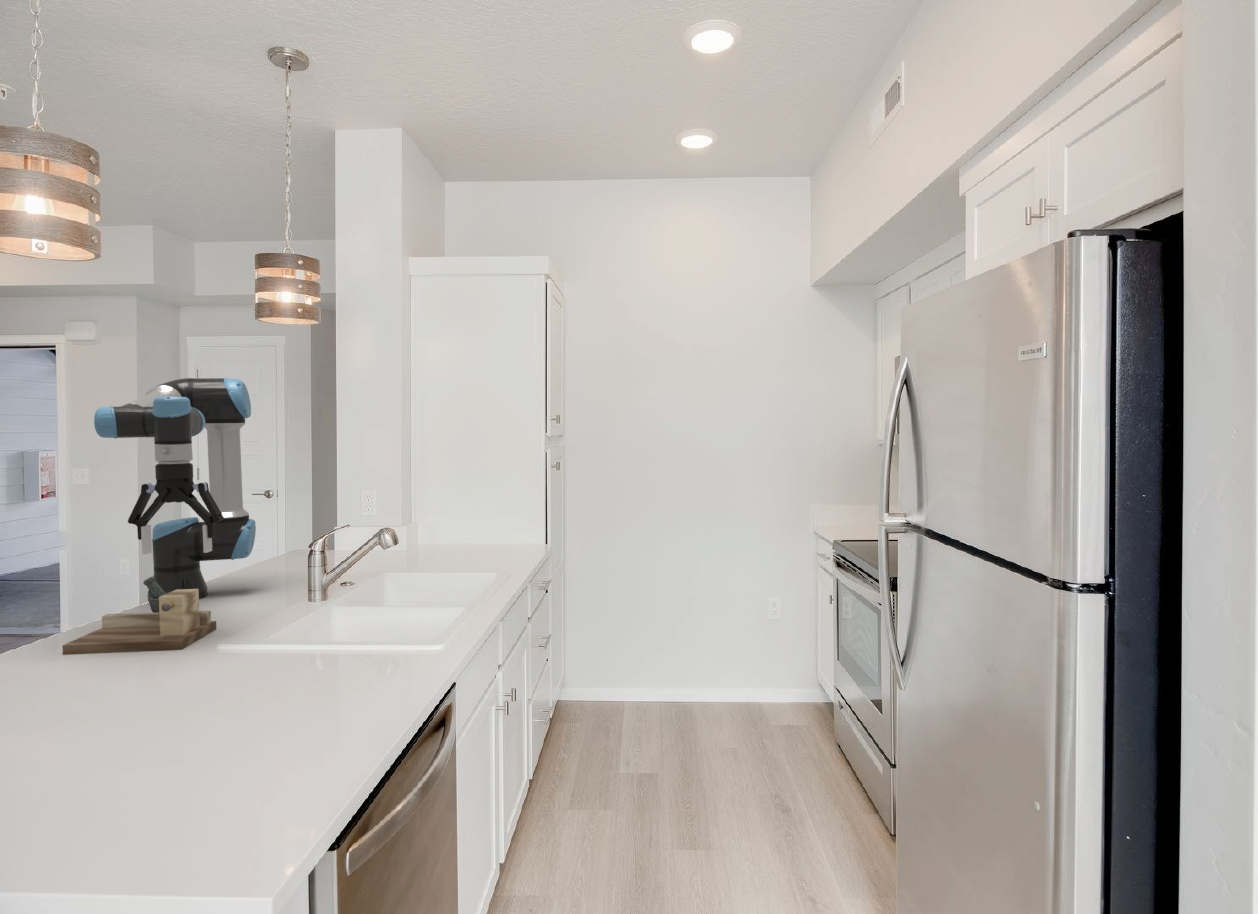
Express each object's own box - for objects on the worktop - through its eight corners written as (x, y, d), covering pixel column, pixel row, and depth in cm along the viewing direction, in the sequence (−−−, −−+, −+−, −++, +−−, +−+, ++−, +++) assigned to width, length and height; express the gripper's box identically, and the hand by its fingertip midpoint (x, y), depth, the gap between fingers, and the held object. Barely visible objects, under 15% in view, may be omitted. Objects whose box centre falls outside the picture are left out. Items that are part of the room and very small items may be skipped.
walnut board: (109, 633, 180) (108, 612, 180) (216, 629, 182) (215, 609, 182) (62, 654, 163) (61, 631, 163) (181, 649, 165) (180, 627, 165)
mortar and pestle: (199, 615, 196) (198, 571, 195) (186, 625, 186) (185, 578, 186) (152, 618, 193) (150, 573, 193) (137, 628, 184) (135, 580, 183)
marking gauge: (182, 624, 180) (180, 587, 179) (203, 623, 180) (202, 587, 180) (155, 638, 167) (153, 599, 167) (178, 637, 168) (176, 598, 168)
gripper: (107, 464, 167) (111, 557, 168) (222, 462, 170) (225, 553, 171) (127, 462, 175) (130, 551, 176) (236, 461, 177) (239, 548, 178)
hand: (177, 552), depth 173 cm, fingers open, 13 cm apart
